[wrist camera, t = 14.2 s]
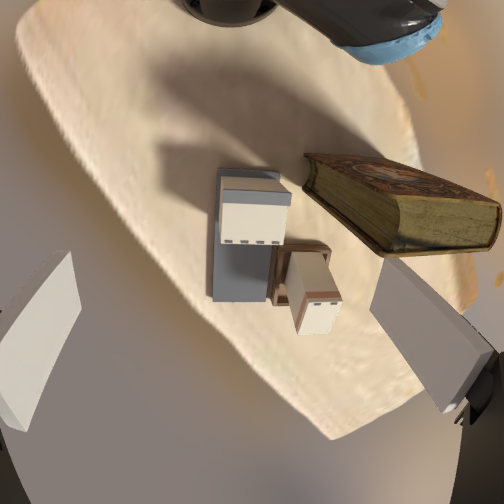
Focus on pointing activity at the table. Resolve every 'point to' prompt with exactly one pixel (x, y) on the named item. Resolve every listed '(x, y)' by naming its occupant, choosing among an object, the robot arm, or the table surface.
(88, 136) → the table surface
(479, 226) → the book
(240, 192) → the pad
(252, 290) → the board
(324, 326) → the stub
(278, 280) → the tray
